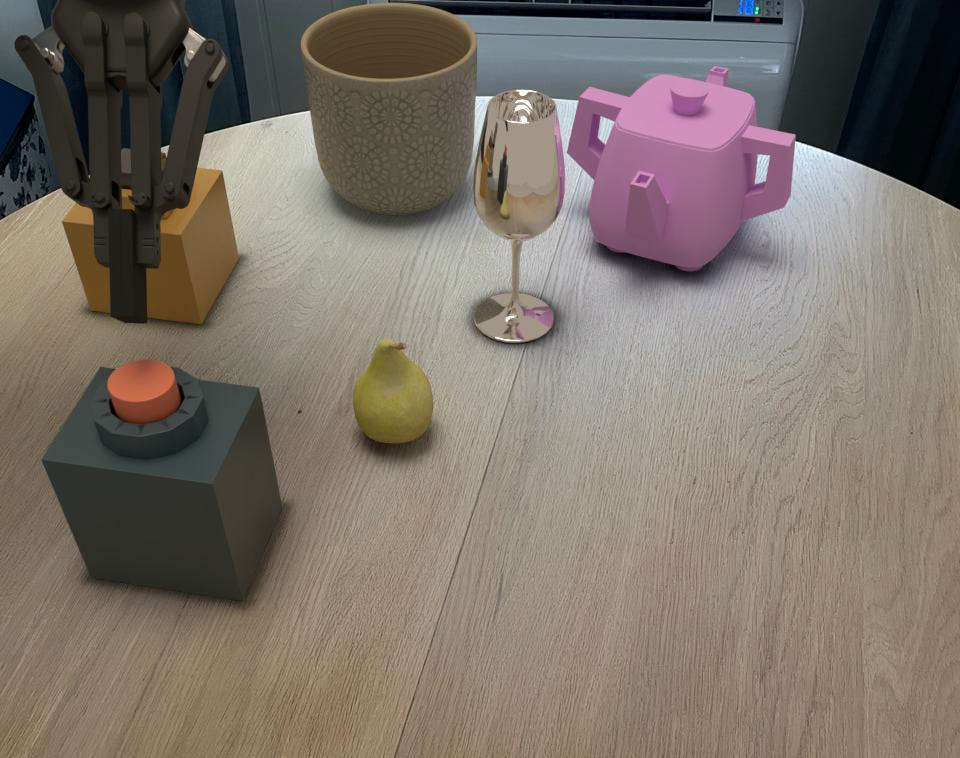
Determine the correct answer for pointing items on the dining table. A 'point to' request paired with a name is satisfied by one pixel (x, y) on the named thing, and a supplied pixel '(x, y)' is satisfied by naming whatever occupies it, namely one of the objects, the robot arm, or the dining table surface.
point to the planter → (392, 103)
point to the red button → (144, 391)
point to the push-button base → (169, 253)
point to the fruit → (393, 396)
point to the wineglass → (518, 200)
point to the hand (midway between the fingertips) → (129, 319)
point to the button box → (169, 488)
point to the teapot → (678, 167)
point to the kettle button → (127, 167)
